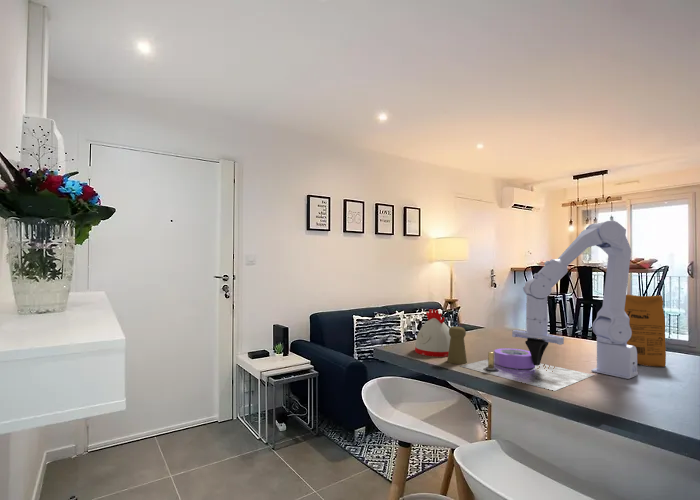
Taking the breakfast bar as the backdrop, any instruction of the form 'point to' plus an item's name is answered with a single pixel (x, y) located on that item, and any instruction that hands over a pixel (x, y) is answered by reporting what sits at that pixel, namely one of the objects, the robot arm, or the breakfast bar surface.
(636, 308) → the coffee package
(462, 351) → the cork
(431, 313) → the kitchen timer
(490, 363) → the fixed brass pin
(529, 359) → the masking tape
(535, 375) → the light grey flat board
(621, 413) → the breakfast bar surface
